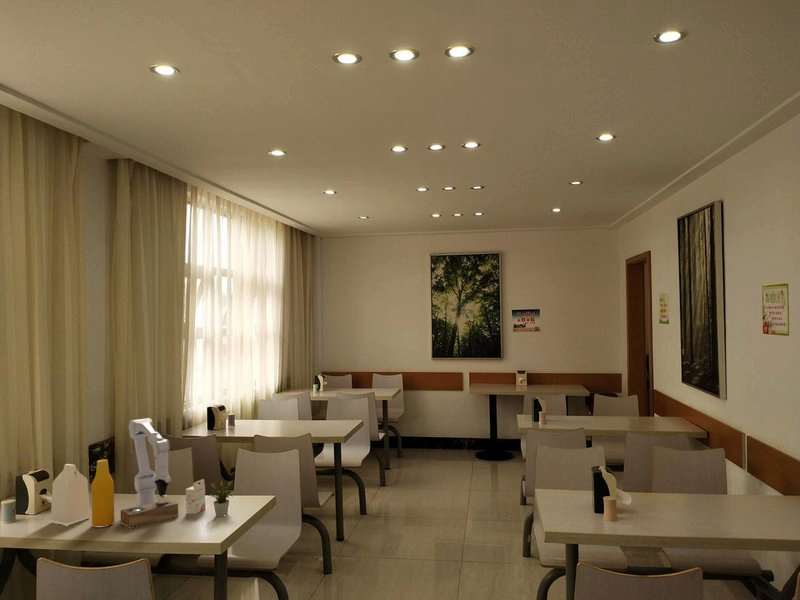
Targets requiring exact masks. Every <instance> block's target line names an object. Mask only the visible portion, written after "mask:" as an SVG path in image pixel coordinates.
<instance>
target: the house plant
mask: <svg viewBox="0 0 800 600" xmlns="http://www.w3.org/2000/svg"><path fill="white" fill-rule="evenodd" d="M232 482H233V480H232V481H229V482H228V484H227V485H226V486H225V484H223V479H222V480H221V482H220V487H219V489H220V490H219V489H218V486H217V484H216V483H215V482H213V483H211V486H210V485H208V484H207V486H209V487H210V488H212V489H210V490H211V491H212V492H213V493H214V494H212V493H211V494H209V495H208V497H210V498H215V500H214V501H213V506H214V512H215V516H216V517H217V516H222V517H225V516H224V515H226V516H228V514H229V505H230V500H229V499H230V496H231V497H232V498H233V494H232V492H233V490H228V489H229V488H230V486H231V484H232ZM224 486H225V487H224ZM227 498H228V499H227Z"/></svg>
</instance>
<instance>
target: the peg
mask: <svg viewBox="0 0 800 600" xmlns="http://www.w3.org/2000/svg"><path fill="white" fill-rule="evenodd" d="M167 499H168V495H167V494H165V495H164V496H160V495H158V496H157V502H158V505H159V506H161V505H165V504H167Z"/></svg>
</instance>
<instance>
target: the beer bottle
mask: <svg viewBox="0 0 800 600" xmlns="http://www.w3.org/2000/svg"><path fill="white" fill-rule="evenodd" d="M108 460H109V459H99V460H97V463H96V470H95V471H96V472H95V476H94V478H93V480H92V483H91V526H92V525H93V526H106V525H110V524H112V523H114V524H115V521H116V520H115V489H114V488H115V484H114V479H113V478H112V475H111V474H110V469H109V461H108ZM93 526H92V527H93Z"/></svg>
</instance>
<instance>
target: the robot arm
mask: <svg viewBox="0 0 800 600" xmlns="http://www.w3.org/2000/svg"><path fill="white" fill-rule="evenodd" d="M128 431H129V433H128V434H129V438H131V439H133V443H134V448H135V454H136V460H137V465H138V473H137V474H136V475H135V476H134V482H133V483H134V489H135V492H136V496H135V497H136V499H135V501H136V506H141V505H145V504H149V503H153V502H156V498H155V497H156V496H155V493H156V490H157V492H158V496H164V495H166V492H167V488H168V485H169V483H171V481H172V480H171V479H172V478H171V477H170V475H169V452H170V450H171V443H170V441H169V439H167V438H164V437H163V436H162V435H161V433H159V432H158V431H155V429H154V428H153V420H152V419H151V417H145V418H140V419H139V418H137V419H131V420H129V422H128ZM146 438H147V441H148V442H149V444H150V445H151V446H152V452H153V457H154V466H155V467H154V468H155V471H154V470H152V469H151V468H150V461H149V456H148V449H147V444H146ZM136 506H135V507H136Z"/></svg>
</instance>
